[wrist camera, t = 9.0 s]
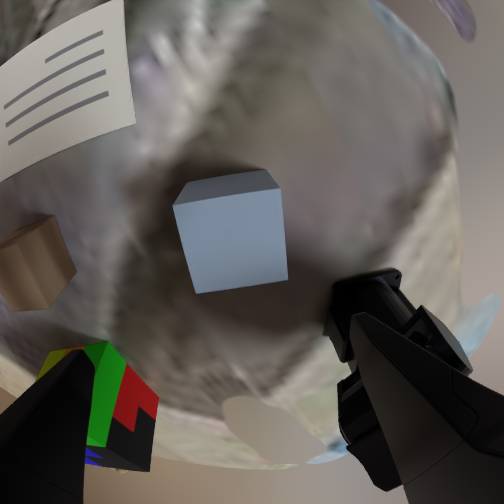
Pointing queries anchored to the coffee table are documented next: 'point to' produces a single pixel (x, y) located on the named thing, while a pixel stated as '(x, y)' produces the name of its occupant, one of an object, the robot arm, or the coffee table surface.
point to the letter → (65, 88)
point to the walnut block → (34, 266)
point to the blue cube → (232, 231)
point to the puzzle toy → (116, 411)
